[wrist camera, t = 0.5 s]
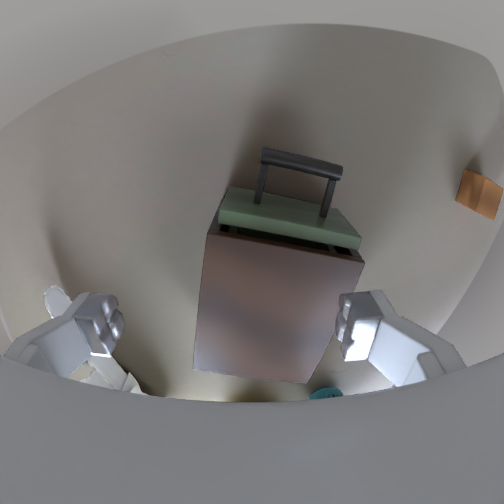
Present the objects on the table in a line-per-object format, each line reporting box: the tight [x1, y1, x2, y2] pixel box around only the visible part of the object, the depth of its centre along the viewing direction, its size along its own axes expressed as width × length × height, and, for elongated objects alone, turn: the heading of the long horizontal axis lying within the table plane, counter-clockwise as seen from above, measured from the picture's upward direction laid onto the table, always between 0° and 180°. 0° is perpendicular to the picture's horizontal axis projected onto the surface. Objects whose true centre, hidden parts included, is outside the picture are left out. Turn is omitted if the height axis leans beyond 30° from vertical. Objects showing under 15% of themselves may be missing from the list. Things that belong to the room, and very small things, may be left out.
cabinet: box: [193, 199, 365, 383], centre depth 29 cm, size 16×13×10 cm
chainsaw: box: [43, 284, 148, 395], centre depth 37 cm, size 15×35×12 cm, turn 21°
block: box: [456, 169, 504, 221], centre depth 25 cm, size 4×4×4 cm
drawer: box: [218, 147, 362, 253], centre depth 27 cm, size 20×12×8 cm, turn 169°
